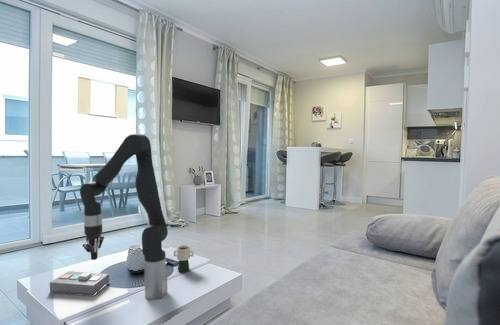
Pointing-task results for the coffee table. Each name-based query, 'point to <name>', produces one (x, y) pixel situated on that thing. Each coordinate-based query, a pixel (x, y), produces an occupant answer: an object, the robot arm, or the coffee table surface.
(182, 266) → the character mug
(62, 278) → the terracotta key
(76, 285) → the keypad board
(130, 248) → the soda can
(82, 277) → the grey key
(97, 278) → the block
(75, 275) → the teal key
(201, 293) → the coffee table surface
